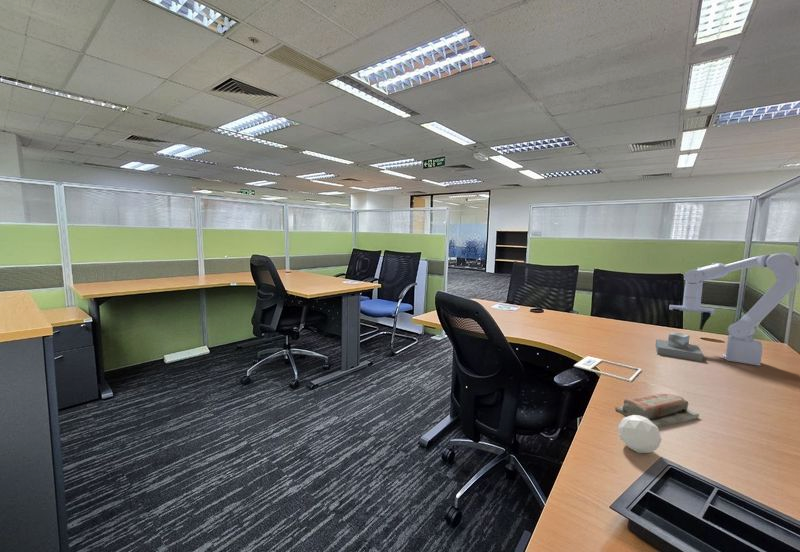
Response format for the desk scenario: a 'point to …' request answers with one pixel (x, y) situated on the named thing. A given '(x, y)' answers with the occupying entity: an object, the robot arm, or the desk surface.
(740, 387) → the desk surface
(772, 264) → the robot arm
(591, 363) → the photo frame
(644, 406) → the packaged product
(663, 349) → the pedestal
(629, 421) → the geometric ball
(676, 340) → the grey-green cube
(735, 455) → the desk surface
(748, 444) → the desk surface
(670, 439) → the desk surface
